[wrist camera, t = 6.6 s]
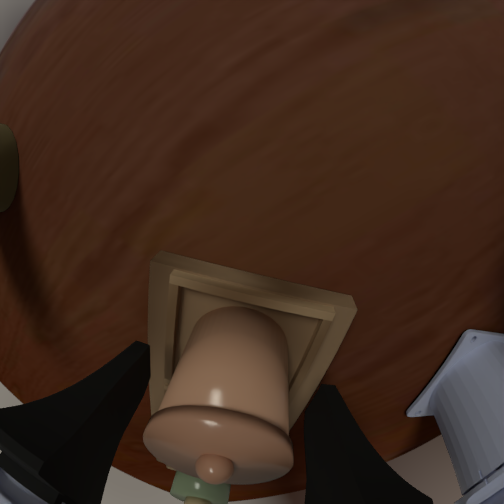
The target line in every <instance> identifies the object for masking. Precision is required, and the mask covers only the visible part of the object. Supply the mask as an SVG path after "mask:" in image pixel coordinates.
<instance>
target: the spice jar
mask: <svg viewBox="0 0 504 504" xmlns="http://www.w3.org/2000/svg"><path fill="white" fill-rule="evenodd" d="M143 441H144V444H145V446H146V447H147V449H148V450H149V451H150V452H151V453H152V454H153V455H154V456H155V457H156V458H157V459H159V460H160V461H161V462H163V463H164V464H166V465H168V466H170V467H171V468H173V469H175V470H177V471H180V472H182V473H184V474H187V475H190V476H193V477H196V478H199V479H201V480H203V481H204V482H206V483H209V484H214V485H217V484H223V483H225V484H256V483H263V482H267V481H271V480H274V479H277V478H279V477H282V476H283V475H285V474H286V473H288V472H289V471H290V470H291V468H292V466H293V443H292V440H291V439H290V437H289V387H288V344H287V339H286V336H285V333H284V331H283V330H282V328H281V327H280V326H279V325H278V323H277V322H276V321H274V320H273V319H272V318H271V317H269V316H268V315H266V314H264V313H262V312H260V311H257V310H255V309H251V308H247V307H240V306H228V307H221V308H217V309H214V310H212V311H210V312H208V313H206V314H205V315H203V316H202V317H201V318H200V319H199V320H198V321H197V322H196V324H195V326H194V327H193V330H192V332H191V334H190V337H189V339H188V341H187V344H186V346H185V348H184V350H183V353H182V355H181V357H180V360H179V362H178V364H177V367H176V369H175V372H174V374H173V376H172V379H171V381H170V383H169V386H168V388H167V391H166V393H165V395H164V398H163V400H162V403H161V405H160V407H159V410H158V411H157V412H155V413H154V414H153V415H152V416H151V418H150V419H149V422H148V424H147V426H146V429H145V431H144V434H143Z"/></svg>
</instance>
